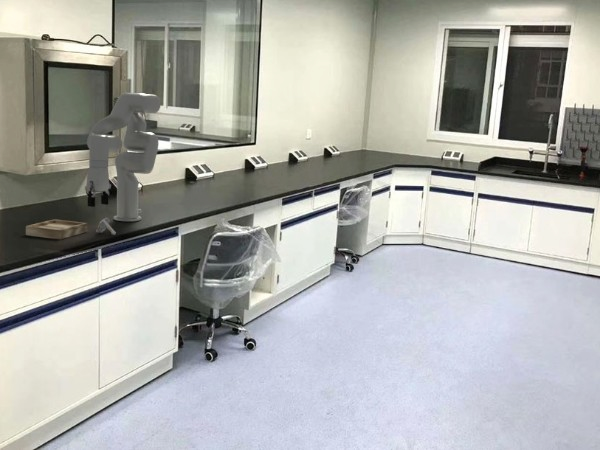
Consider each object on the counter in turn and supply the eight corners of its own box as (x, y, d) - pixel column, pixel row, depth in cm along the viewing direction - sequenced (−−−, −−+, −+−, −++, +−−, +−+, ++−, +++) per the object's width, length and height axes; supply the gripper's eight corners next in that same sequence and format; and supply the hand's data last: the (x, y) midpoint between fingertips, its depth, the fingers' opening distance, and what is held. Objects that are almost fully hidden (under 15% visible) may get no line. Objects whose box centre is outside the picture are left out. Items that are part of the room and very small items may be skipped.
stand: (94, 232, 252) (101, 218, 249) (103, 231, 256) (111, 217, 253) (105, 244, 250) (112, 230, 246) (114, 243, 254) (121, 229, 250)
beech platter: (54, 227, 258) (54, 219, 258) (87, 231, 254) (87, 223, 254) (25, 235, 241) (25, 226, 240) (60, 239, 237) (60, 230, 237)
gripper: (102, 163, 258) (101, 202, 261) (78, 164, 241) (77, 206, 244) (118, 164, 256) (117, 204, 259) (94, 166, 240) (94, 208, 242)
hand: (98, 205), depth 251 cm, fingers open, 9 cm apart
